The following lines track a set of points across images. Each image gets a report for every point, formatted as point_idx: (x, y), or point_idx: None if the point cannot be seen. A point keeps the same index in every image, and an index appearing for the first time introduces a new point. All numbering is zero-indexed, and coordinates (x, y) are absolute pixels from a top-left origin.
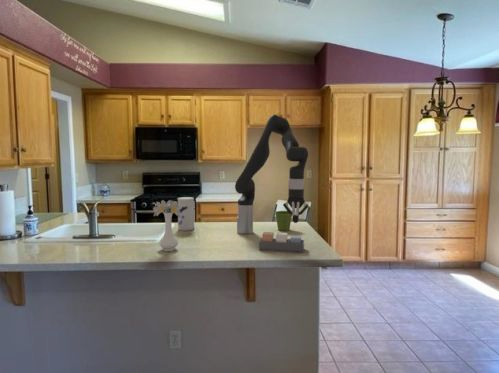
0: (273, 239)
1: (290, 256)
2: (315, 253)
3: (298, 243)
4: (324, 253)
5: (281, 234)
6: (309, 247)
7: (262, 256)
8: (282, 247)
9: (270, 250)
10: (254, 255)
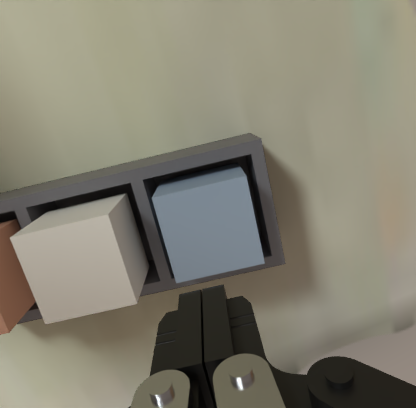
0: (11, 227)
1: None
2: (350, 216)
3: (248, 270)
4: (407, 191)
5: (83, 295)
6: (280, 77)
7: (76, 395)
8: None
9: None
10: (27, 397)
